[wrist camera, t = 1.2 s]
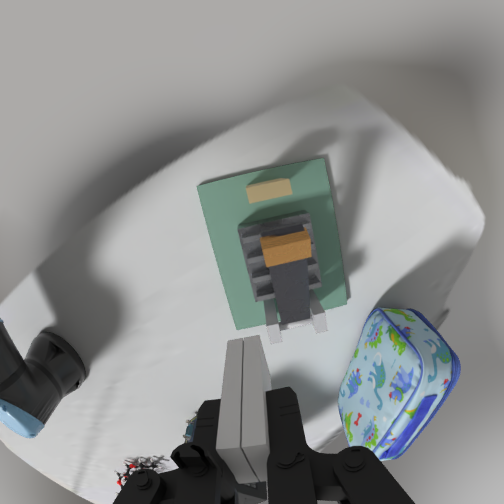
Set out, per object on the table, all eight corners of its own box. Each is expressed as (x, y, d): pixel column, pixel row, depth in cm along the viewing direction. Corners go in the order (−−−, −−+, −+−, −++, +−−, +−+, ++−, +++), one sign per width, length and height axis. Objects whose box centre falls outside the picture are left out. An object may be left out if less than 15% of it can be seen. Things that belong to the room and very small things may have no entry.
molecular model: (133, 480, 65) (126, 514, 49) (104, 463, 62) (93, 497, 47) (177, 461, 64) (174, 501, 48) (144, 441, 61) (135, 482, 46)
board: (236, 327, 47) (234, 362, 37) (197, 186, 41) (182, 189, 31) (345, 301, 46) (366, 331, 36) (321, 158, 40) (343, 153, 30)
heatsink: (255, 292, 44) (255, 308, 39) (238, 224, 41) (236, 232, 36) (316, 278, 44) (325, 292, 38) (304, 209, 41) (312, 215, 36)
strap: (278, 319, 38) (281, 332, 36) (258, 233, 27) (262, 249, 25) (310, 311, 38) (314, 325, 36) (304, 223, 26) (310, 238, 25)
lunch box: (370, 402, 53) (402, 470, 33) (328, 404, 53) (352, 480, 33) (414, 301, 47) (479, 360, 26) (367, 297, 46) (428, 367, 26)
